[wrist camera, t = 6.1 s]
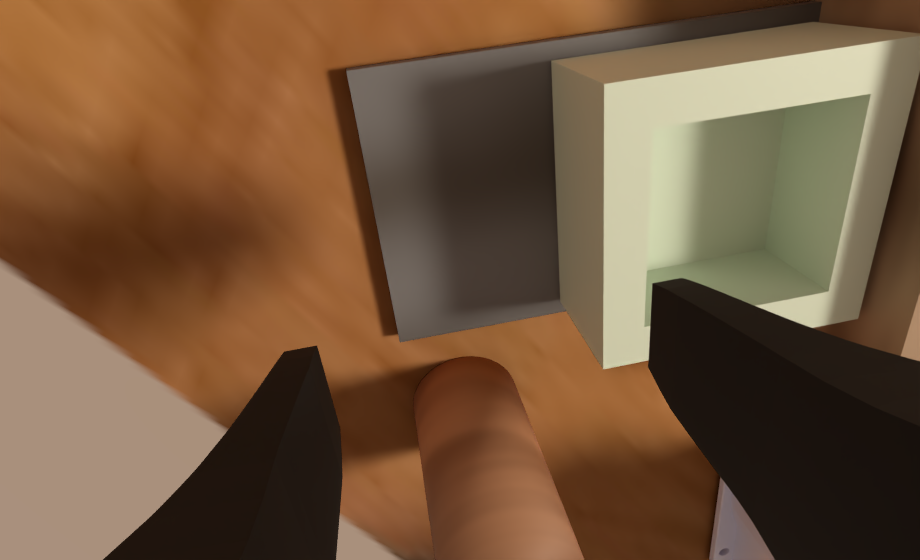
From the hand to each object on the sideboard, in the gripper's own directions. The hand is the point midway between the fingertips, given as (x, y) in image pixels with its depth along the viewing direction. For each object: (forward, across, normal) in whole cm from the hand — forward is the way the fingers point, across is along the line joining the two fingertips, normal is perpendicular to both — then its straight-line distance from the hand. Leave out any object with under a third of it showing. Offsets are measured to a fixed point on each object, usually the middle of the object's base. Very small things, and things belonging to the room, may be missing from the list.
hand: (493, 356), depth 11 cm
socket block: (+8, -8, 0) cm, 11 cm away
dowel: (+8, 0, +8) cm, 12 cm away
